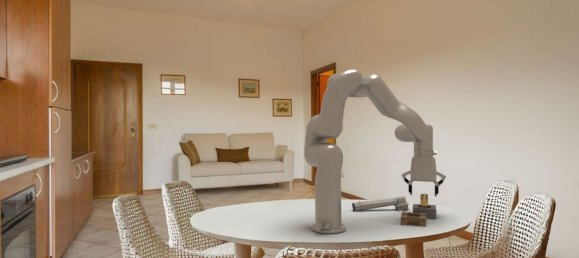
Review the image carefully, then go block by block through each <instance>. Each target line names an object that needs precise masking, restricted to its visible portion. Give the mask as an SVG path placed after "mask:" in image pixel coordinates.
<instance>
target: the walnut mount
mask: <svg viewBox="0 0 579 258" xmlns="http://www.w3.org/2000/svg"><path fill="white" fill-rule="evenodd" d="M400 225H402V226H403V225H404V226H412V227H413V226H415V227H427V219H426V213H413V211H411V212H410V211H402V212H401V215H400Z"/></svg>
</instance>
